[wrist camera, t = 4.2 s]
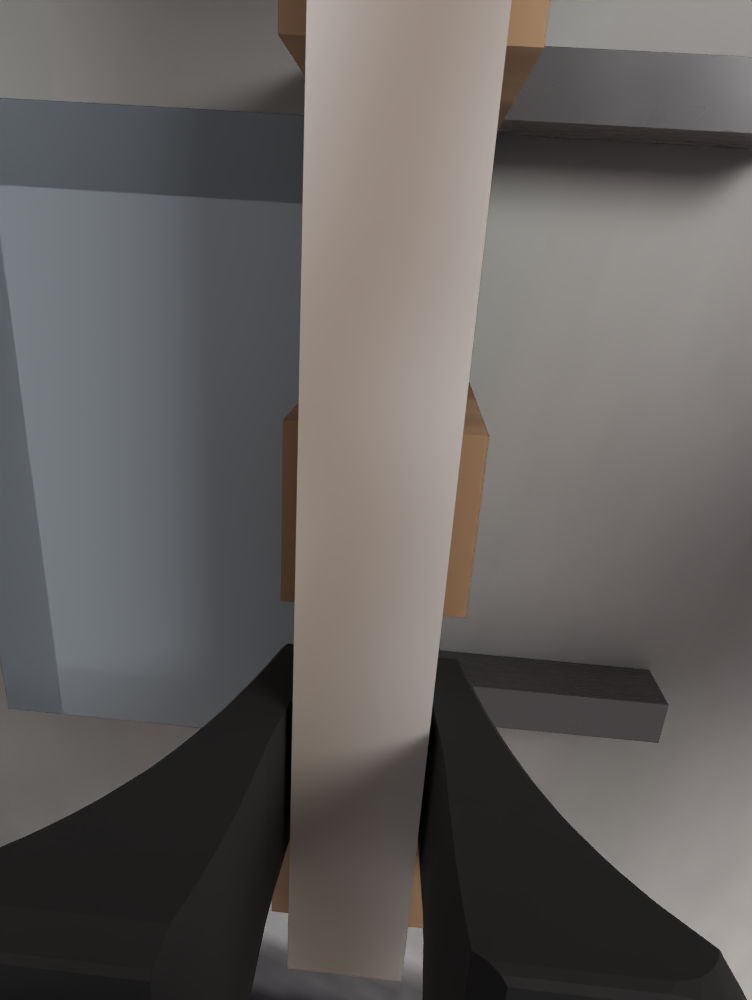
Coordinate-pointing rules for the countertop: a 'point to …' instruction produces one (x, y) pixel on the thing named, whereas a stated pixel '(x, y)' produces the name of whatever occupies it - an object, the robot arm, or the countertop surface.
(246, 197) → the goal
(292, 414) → the tan piece
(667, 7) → the countertop surface
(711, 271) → the countertop surface
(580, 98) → the rail frame
